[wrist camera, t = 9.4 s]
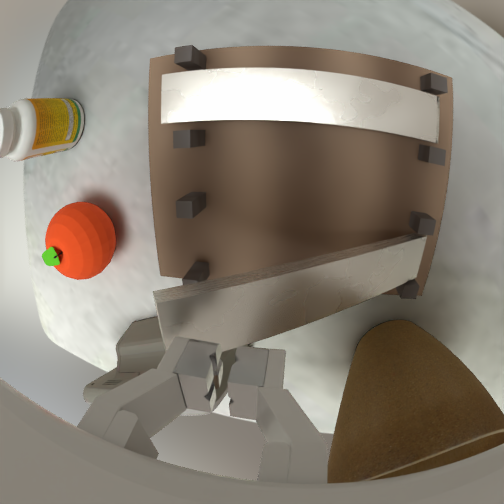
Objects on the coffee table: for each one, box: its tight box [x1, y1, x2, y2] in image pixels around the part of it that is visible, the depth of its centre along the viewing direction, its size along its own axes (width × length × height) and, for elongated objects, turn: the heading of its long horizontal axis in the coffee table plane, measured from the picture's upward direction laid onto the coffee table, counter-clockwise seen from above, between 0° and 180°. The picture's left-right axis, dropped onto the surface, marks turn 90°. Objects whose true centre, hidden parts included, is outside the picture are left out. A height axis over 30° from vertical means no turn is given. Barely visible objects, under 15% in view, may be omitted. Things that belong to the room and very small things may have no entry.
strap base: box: [148, 45, 453, 299], centre depth 17 cm, size 20×16×7 cm
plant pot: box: [327, 320, 504, 483], centre depth 18 cm, size 15×15×16 cm
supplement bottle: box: [0, 98, 84, 161], centre depth 16 cm, size 5×5×10 cm
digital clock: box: [83, 317, 249, 415], centre depth 24 cm, size 16×9×11 cm, turn 101°
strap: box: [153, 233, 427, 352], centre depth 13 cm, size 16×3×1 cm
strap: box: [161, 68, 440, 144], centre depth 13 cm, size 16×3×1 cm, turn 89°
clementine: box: [42, 202, 116, 280], centre depth 21 cm, size 8×7×7 cm
